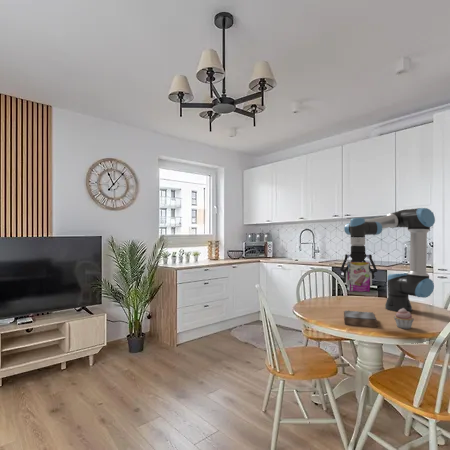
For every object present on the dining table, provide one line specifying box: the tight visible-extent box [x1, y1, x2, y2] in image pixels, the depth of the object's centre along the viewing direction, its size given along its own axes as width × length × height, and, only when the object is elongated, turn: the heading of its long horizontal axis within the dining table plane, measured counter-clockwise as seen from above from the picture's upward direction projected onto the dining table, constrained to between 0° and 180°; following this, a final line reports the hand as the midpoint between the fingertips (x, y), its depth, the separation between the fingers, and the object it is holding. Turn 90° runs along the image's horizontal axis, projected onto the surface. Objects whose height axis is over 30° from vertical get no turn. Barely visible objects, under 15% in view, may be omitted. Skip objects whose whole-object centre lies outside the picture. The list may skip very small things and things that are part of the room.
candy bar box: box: [346, 260, 371, 293], centre depth 173 cm, size 11×5×16 cm, turn 84°
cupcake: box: [393, 308, 415, 330], centre depth 162 cm, size 9×9×10 cm
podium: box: [343, 310, 378, 328], centre depth 173 cm, size 16×16×4 cm
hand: (358, 284), depth 173 cm, fingers closed on candy bar box, 12 cm apart
